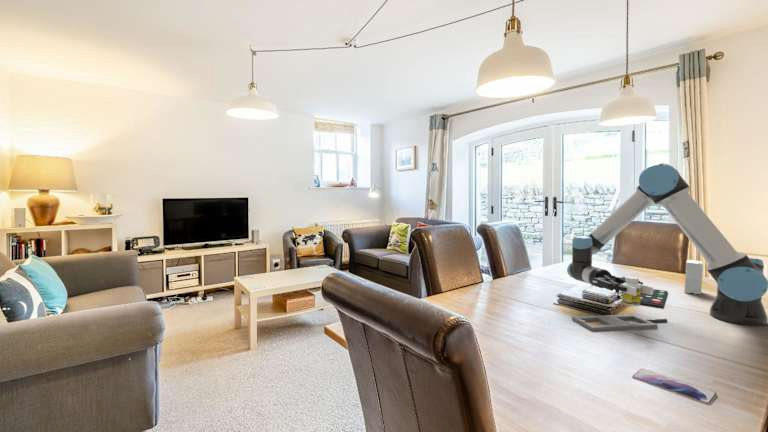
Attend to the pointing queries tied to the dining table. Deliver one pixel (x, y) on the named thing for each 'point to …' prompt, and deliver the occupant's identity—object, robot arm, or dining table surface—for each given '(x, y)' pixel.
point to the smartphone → (676, 386)
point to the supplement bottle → (631, 299)
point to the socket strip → (616, 322)
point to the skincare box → (693, 277)
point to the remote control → (654, 298)
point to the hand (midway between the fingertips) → (643, 291)
